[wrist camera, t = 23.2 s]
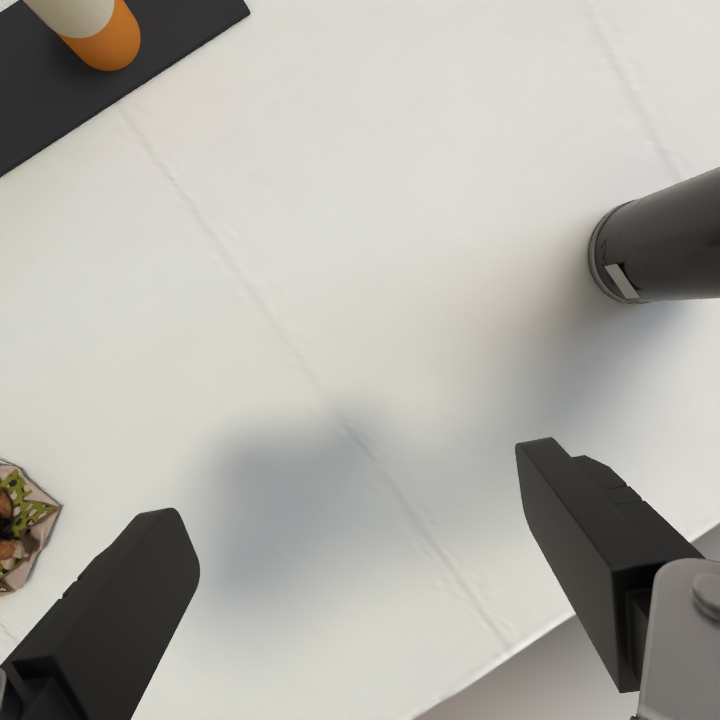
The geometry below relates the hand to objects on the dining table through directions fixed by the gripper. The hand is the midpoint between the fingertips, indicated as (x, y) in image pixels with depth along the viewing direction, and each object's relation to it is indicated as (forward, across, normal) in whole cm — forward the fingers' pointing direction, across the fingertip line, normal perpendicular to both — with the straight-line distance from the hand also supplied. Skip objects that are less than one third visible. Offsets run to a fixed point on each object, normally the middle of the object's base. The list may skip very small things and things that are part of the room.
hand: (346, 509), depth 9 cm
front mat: (+31, +18, -26) cm, 45 cm away
